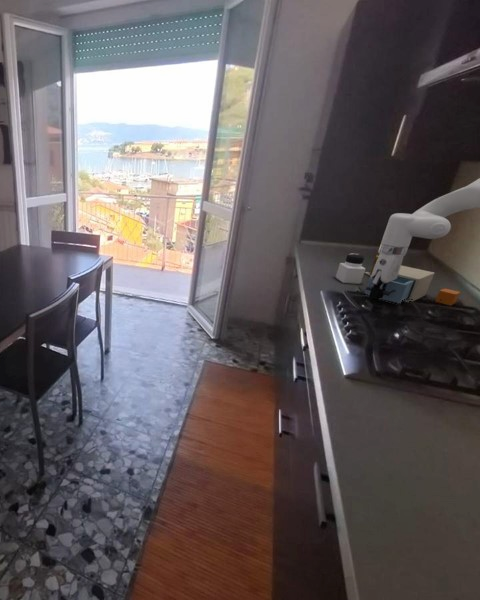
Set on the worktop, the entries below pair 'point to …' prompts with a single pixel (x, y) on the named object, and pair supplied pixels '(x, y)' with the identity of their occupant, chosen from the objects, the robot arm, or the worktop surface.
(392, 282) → the blue drawer
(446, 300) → the orange cube
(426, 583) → the worktop surface
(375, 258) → the condiment
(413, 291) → the small drawer box
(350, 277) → the medicine bottle
